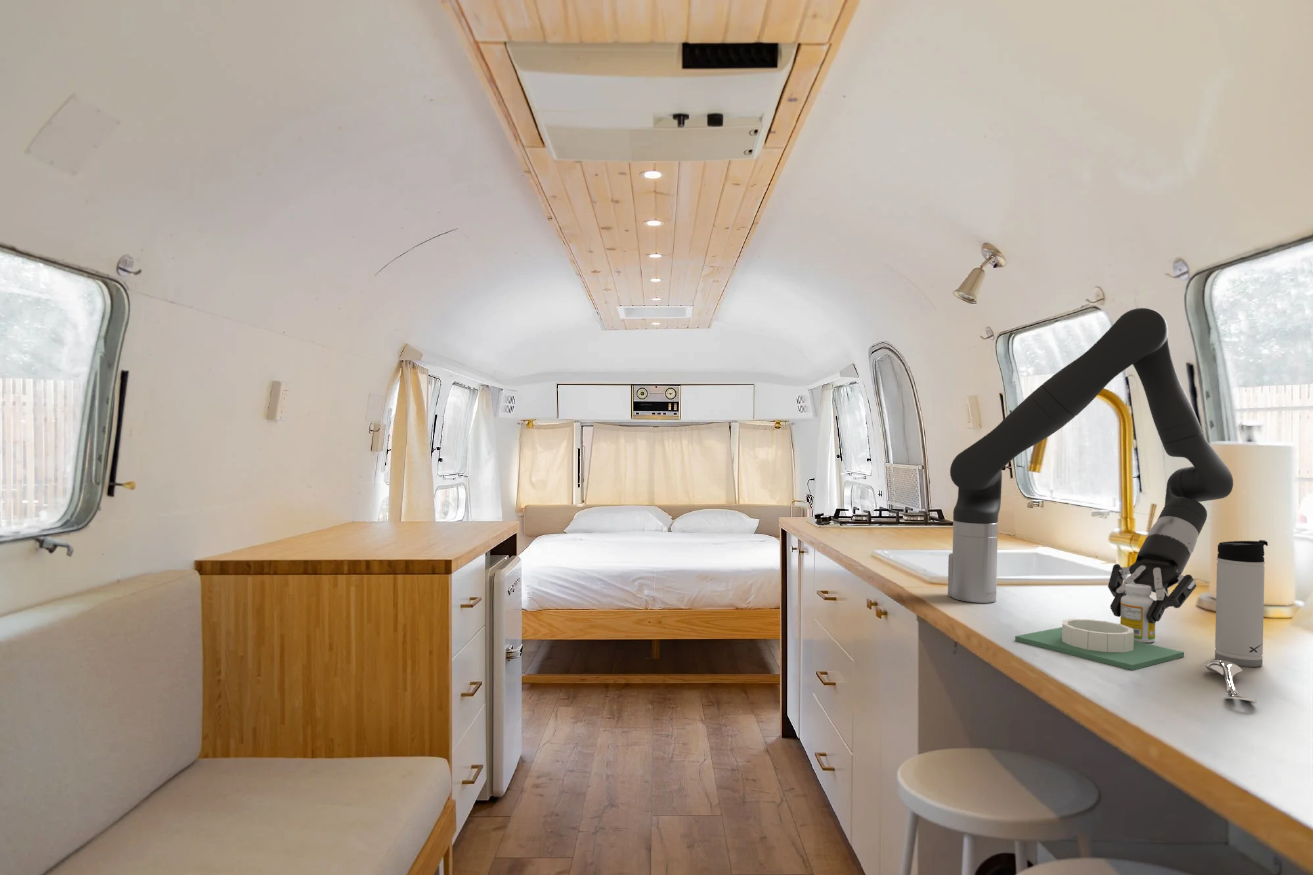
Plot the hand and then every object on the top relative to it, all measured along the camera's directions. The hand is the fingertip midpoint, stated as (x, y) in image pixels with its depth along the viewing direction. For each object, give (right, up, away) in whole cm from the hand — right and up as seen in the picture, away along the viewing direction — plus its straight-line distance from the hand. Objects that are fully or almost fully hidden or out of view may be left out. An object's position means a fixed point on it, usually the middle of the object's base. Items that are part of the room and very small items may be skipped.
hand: (1132, 616), depth 142 cm
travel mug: (+10, -5, -13) cm, 17 cm away
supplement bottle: (+1, -4, +1) cm, 5 cm away
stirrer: (-2, -5, -28) cm, 28 cm away
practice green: (-10, -4, -6) cm, 12 cm away
